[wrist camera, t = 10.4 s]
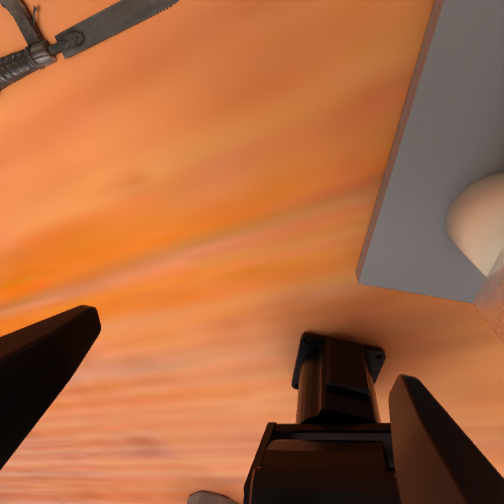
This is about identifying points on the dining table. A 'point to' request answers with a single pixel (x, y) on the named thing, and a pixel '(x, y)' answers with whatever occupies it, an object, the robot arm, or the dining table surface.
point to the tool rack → (445, 162)
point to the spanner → (493, 297)
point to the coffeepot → (208, 498)
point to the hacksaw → (70, 34)
